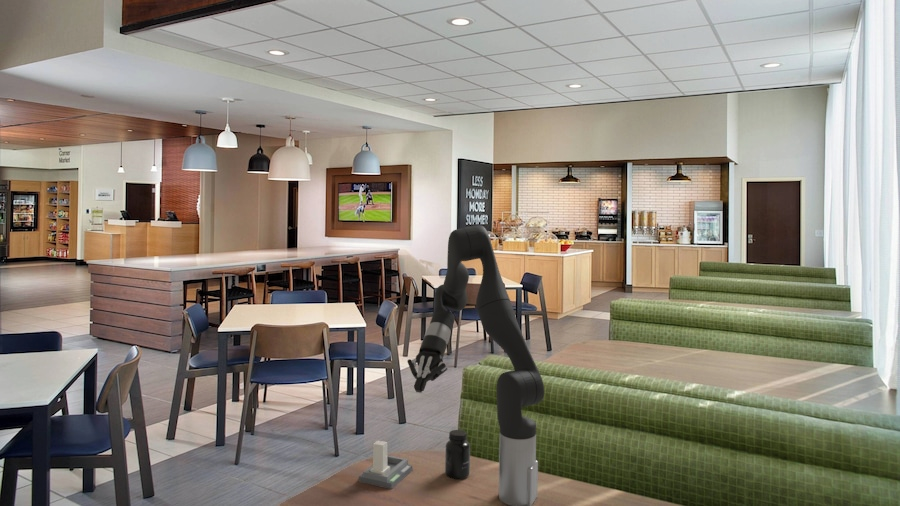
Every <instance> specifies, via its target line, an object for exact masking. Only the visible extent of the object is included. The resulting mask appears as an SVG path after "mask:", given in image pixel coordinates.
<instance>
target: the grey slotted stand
mask: <svg viewBox="0 0 900 506" xmlns="http://www.w3.org/2000/svg"><path fill="white" fill-rule="evenodd" d="M387 466H390V471H389V472H388V473H387V474H385V475H382V474H378V473H373V472H370V470H371V469H372V468H373V464H371V465H370V466H369V467H368V468H366V469H365V470H364V471H362V473H361V474H360V475H359V476H358V482H359V483H363V484H367V485H372V486H377V487H381V488H386V489H389V490H392V489H393V488H394V487H396V485H398V484H399V483H400V482H402V481H403V479H405V478H406V477H408V475H409V474H410V473H411V472H413V464H412V465H411V464H409V459H407V458H404V457H398V456H393V455H388V454H387Z"/></svg>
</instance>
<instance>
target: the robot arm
mask: <svg viewBox="0 0 900 506" xmlns="http://www.w3.org/2000/svg"><path fill="white" fill-rule="evenodd" d="M446 259H447V263H446V264H447V265H446V267H447V269H446V274H445V278H444V281H443V284H440V285H439V286H438V287H437V288H436V289H435V292H434V306H433V307H434V308H433V313H432V317H431V319H430V322H429V325H428V327H427V328H426V330H425V333H424V336H423V338H422V339H423V340H422V342H421V345H420V347H419V351H418V353H417V354H416V356H415V358H413V359H407V364H408V366H409V368H410V369H409V370H410V372H411V374H412V376H413V377H414V380H415V379H416V380H415V382H414V386H413V389H414V390H415V392H416V393H419V394H421V393H423V392H424V391H425V389H426V386H427V383H429V381H431V382H433V381H435V380H436V379H438V377H440V376H442V375H443V374H444V373H445V372H446V371H448V367H447V365H446V364H445V362H444V359H443V358H444V355H445V353H446V350H447V347H448V344H449V341H450V338H451V333H452V329H453V326H454V324H455V321H456V320H455V319H456V317H455V315H454V313H453V312H460V311H463V309H465V307H466V306H467V302H468V292H467V285H468V283H469V279H470V273H469V270H468V268H467V267H466V266H465V264H464V263H462V262H468V261H472V260H473V261H474V260H478V259H479V260H480V261H481V265H482V277H481V282H480V284H479V285H480V286H479V289H478V292H477V295H476V301H475V306H476V311H477V314H478V316H479V320H480V323H481V326H482V328H483V329H484V331H485V332H486V334H487V335H488V336H489V337H490V338H491V340H493V341H494V342H495V343H496V344H497V345H498V346H499V347H500V348H501V349H502V350H503V351H504V352H505V354H506V355H507V357H508V358H509V360H510V362H511V364H512V366H513V369H514V370H509V371H504V372H503V373H501V374H500V375H499V376H498V378H497V381H496V409H497V410H496V412H497V413H496V414H497V422H498V425H499V446H498V447H499V450H498V451H499V452H498V453H499V458H498V460H499V461H498V463H499V464H498V466H499V467H498V498H499V501H500V502H501V503H503V504H505V505H508V506H532V505H533V503H534V502H535V501H536V499H537V498H538V484H539V481H538V480H539V479H538V476H539V475H538V474H539V461H538V460H537V423H536V422H535V421H534V420H533V419H532V418H530V417H527V416H524V415H523V413H522V408H525V407H528V406H533V405H538V404H539V403H541V402H542V401H543V400H544V396H545V386H544V381H543V378H542V375H541V373H540V370H539V369H538V367H537V364H536V362H535V360H534V359H533V356H532V354H531V351H530V350H529V348H528V345H527V343H526V341H525V338H524V335H523V332H522V331H521V328H520V325H519V323H518V320H517V317H516V314H515V310H514V307H513V304H512V302H511V299H510V297H509V294H508V292H507V289H506V286H505V284H504V281H503V278H502V276H501V272H500V270H499V267H498V262H497V258H496V256H495V252H494V248H493V244H492V240H491V238H490V235H489V233H488V231H487V229H486V228H485V227H484V226H483V225H473V226H467V227H462V228H457V229H454V230H453V231H451V232H450V234H449V237H448V241H447V257H446ZM448 309H449V310H448ZM450 310H451V311H450ZM452 311H453V312H452ZM417 366H418V367H417ZM416 367H417V369H416ZM417 370H418V371H417Z"/></svg>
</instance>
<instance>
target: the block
mask: <svg viewBox="0 0 900 506" xmlns="http://www.w3.org/2000/svg"><path fill="white" fill-rule="evenodd" d="M372 445H373V446H372V450H373V451H372V452H373V453H372V462H373V464H372V465H373V468H372V469H371V470H370V472H373V473H378V474H382V475H385V474H387V473H388V472H389V471H390V466H387V455H388V442H387V441H382V440H376V441H375V442H374V443H372Z"/></svg>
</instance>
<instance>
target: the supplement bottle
mask: <svg viewBox="0 0 900 506" xmlns="http://www.w3.org/2000/svg"><path fill="white" fill-rule="evenodd" d="M467 435H468V433H467V431H465V430H464V429H452V430H451V431H449V435H448V436H449V437H448V441H447V442H446V443H445V458H444V459H445V462H444V463H445V464H444V466H445V467H444V471H445V476H447V478H449V479H452V480H463V479H466V478H468V477H469V476H470V471H471V469H470V468H471V467H470V466H471V443H469V441H468V436H467Z"/></svg>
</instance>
